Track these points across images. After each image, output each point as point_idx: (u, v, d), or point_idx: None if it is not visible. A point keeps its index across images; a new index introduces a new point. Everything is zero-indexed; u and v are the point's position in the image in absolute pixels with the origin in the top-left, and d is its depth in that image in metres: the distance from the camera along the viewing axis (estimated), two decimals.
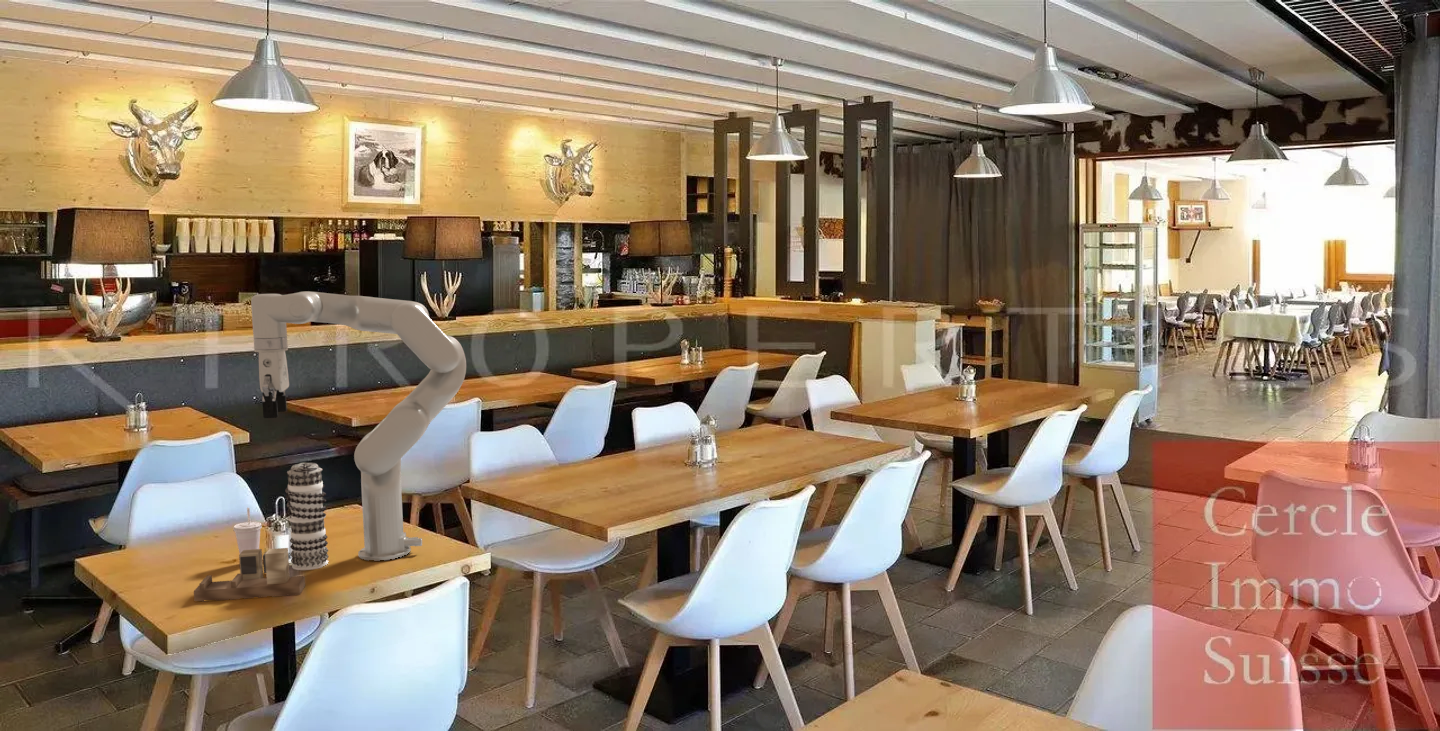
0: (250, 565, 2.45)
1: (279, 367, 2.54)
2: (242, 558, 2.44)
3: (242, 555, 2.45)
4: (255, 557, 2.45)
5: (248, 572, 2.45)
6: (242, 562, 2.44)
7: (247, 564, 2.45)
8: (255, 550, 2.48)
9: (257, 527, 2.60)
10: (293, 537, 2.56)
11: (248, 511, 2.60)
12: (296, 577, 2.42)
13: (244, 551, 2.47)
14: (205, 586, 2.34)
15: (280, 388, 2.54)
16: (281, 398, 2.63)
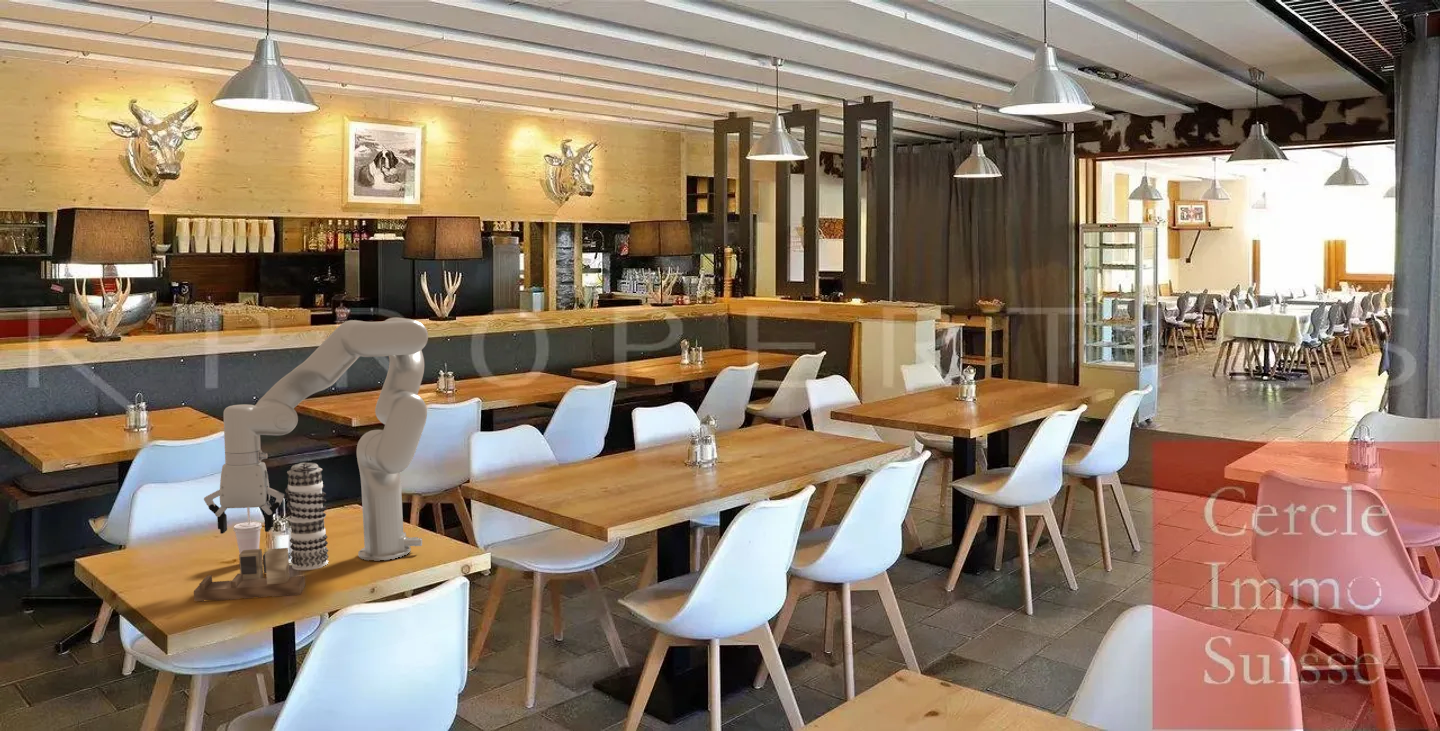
0: (250, 565, 2.45)
1: None
2: (242, 558, 2.44)
3: (242, 555, 2.45)
4: (255, 557, 2.45)
5: (248, 572, 2.45)
6: (242, 562, 2.44)
7: (247, 564, 2.45)
8: (255, 550, 2.48)
9: (257, 527, 2.60)
10: (293, 537, 2.56)
11: (248, 511, 2.60)
12: (296, 577, 2.42)
13: (244, 551, 2.47)
14: (205, 586, 2.34)
15: None
16: (225, 517, 2.46)
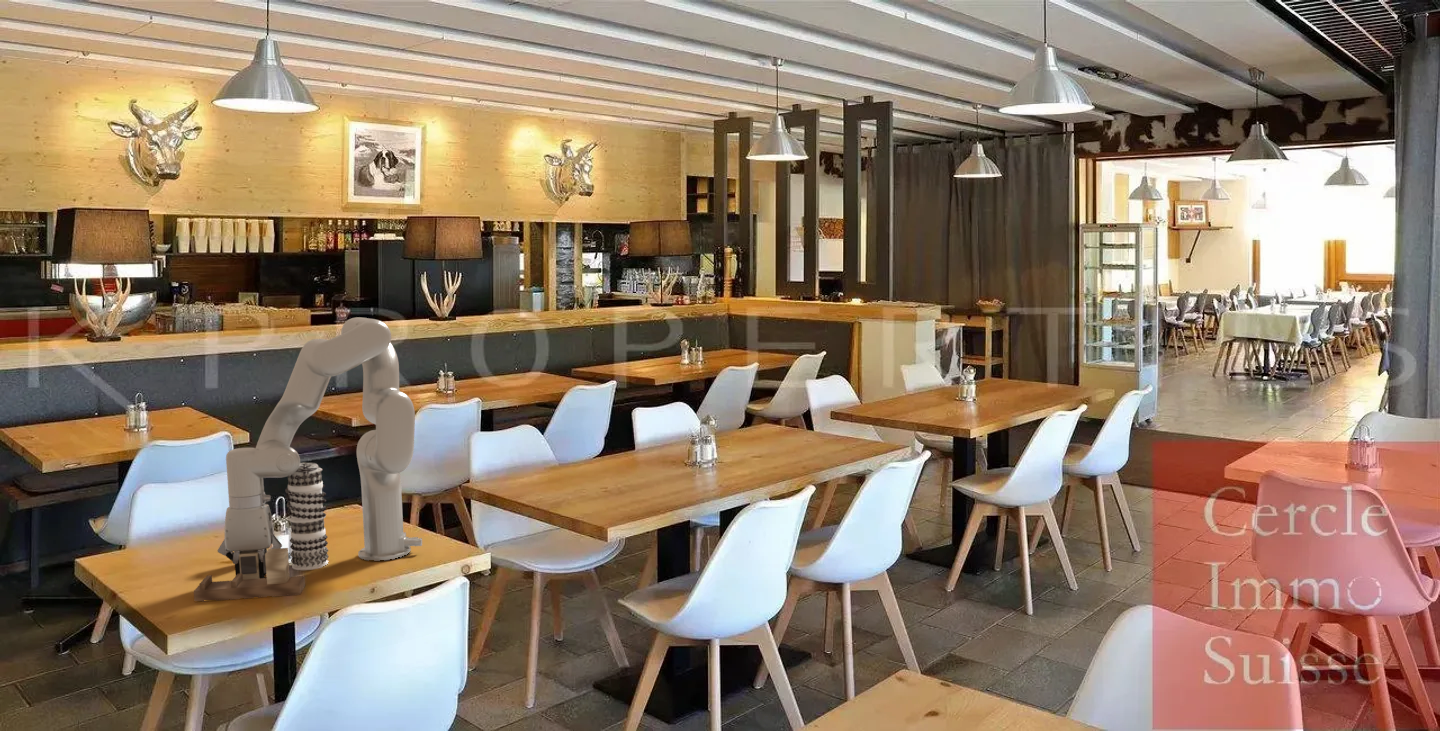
0: (250, 565, 2.45)
1: None
2: (242, 558, 2.44)
3: (242, 555, 2.45)
4: (255, 557, 2.45)
5: (248, 572, 2.45)
6: (242, 562, 2.44)
7: (247, 564, 2.45)
8: (255, 550, 2.48)
9: None
10: (293, 537, 2.56)
11: None
12: (296, 577, 2.42)
13: (244, 551, 2.47)
14: (205, 586, 2.34)
15: None
16: None
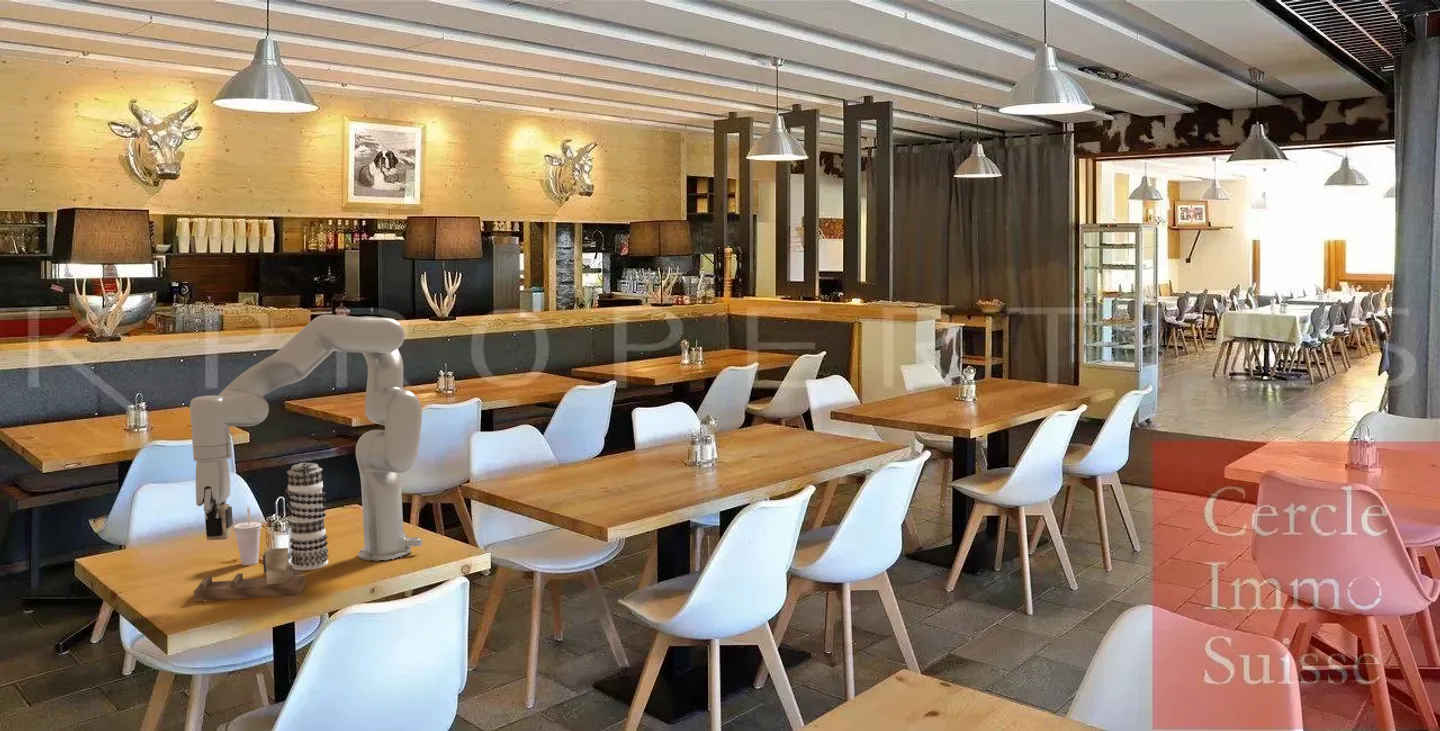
0: (230, 516, 2.36)
1: None
2: (228, 510, 2.34)
3: (225, 508, 2.34)
4: None
5: (230, 524, 2.36)
6: (228, 514, 2.34)
7: (230, 516, 2.36)
8: None
9: (257, 527, 2.60)
10: (293, 537, 2.56)
11: (248, 511, 2.60)
12: (296, 577, 2.42)
13: None
14: (205, 586, 2.34)
15: None
16: None
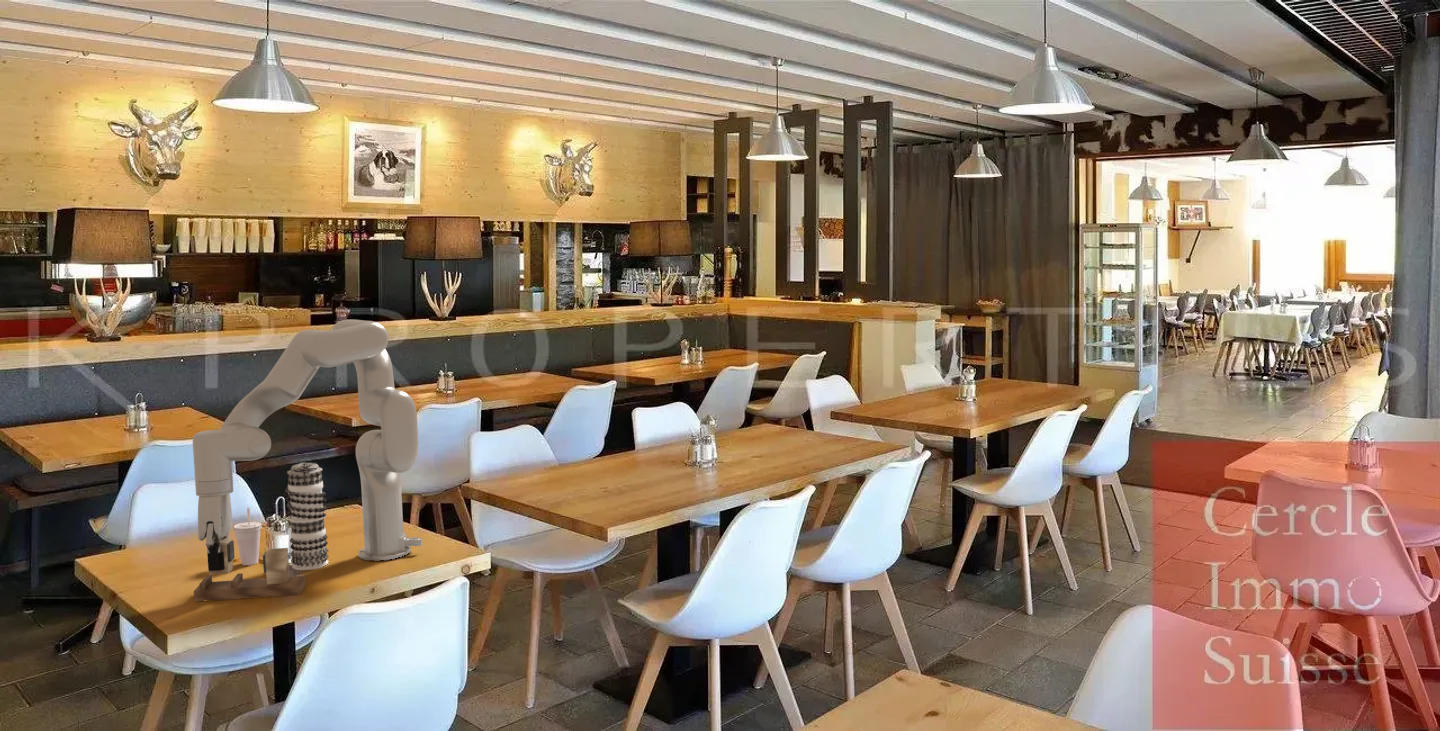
0: (232, 550, 2.37)
1: None
2: (230, 544, 2.35)
3: (226, 542, 2.35)
4: None
5: (232, 558, 2.37)
6: (230, 548, 2.35)
7: (231, 550, 2.36)
8: None
9: (257, 527, 2.60)
10: (293, 537, 2.56)
11: (248, 511, 2.60)
12: (296, 577, 2.42)
13: (214, 542, 2.34)
14: (205, 586, 2.34)
15: None
16: None
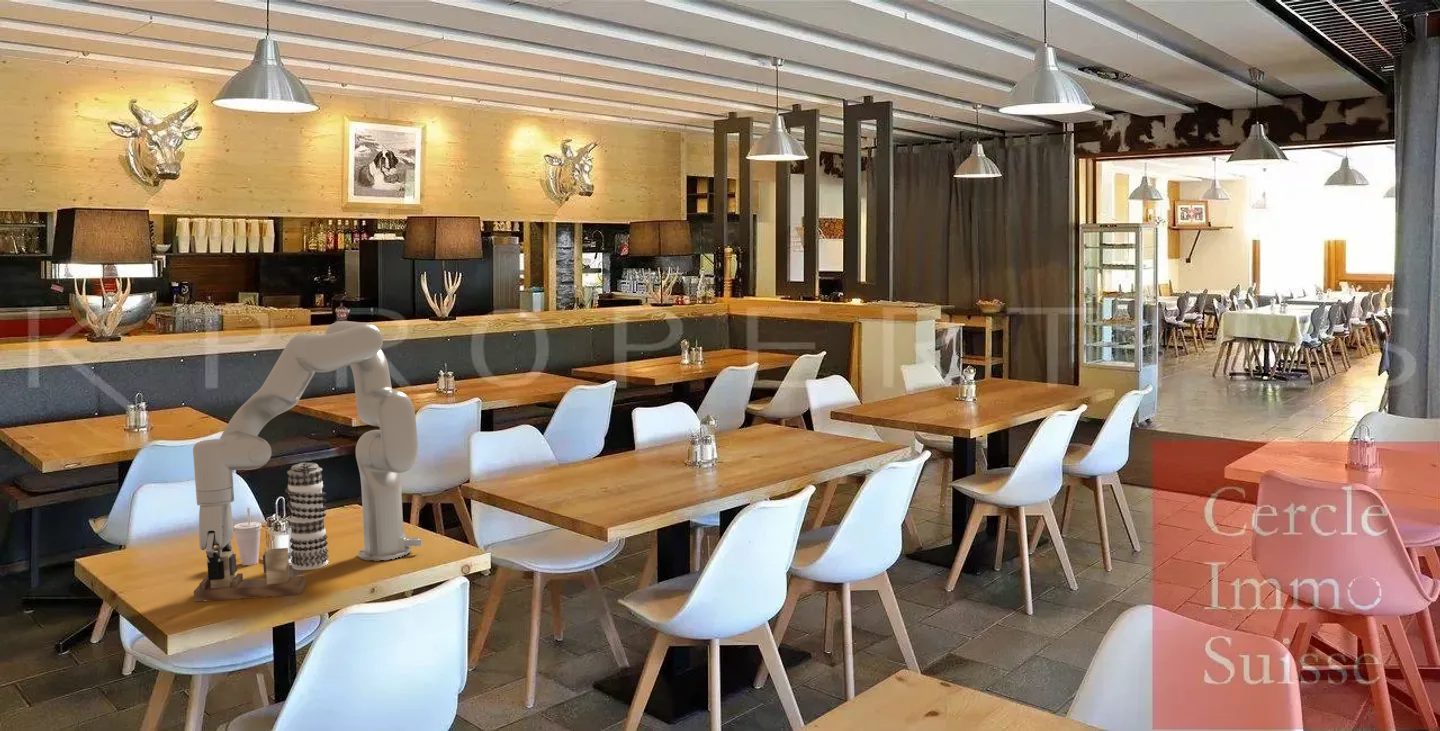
0: (234, 563, 2.38)
1: None
2: (232, 558, 2.36)
3: (228, 556, 2.36)
4: None
5: (234, 571, 2.37)
6: (232, 562, 2.36)
7: (233, 563, 2.37)
8: (217, 553, 2.37)
9: (257, 527, 2.60)
10: (293, 537, 2.56)
11: (248, 511, 2.60)
12: (296, 577, 2.42)
13: None
14: (205, 586, 2.34)
15: None
16: None
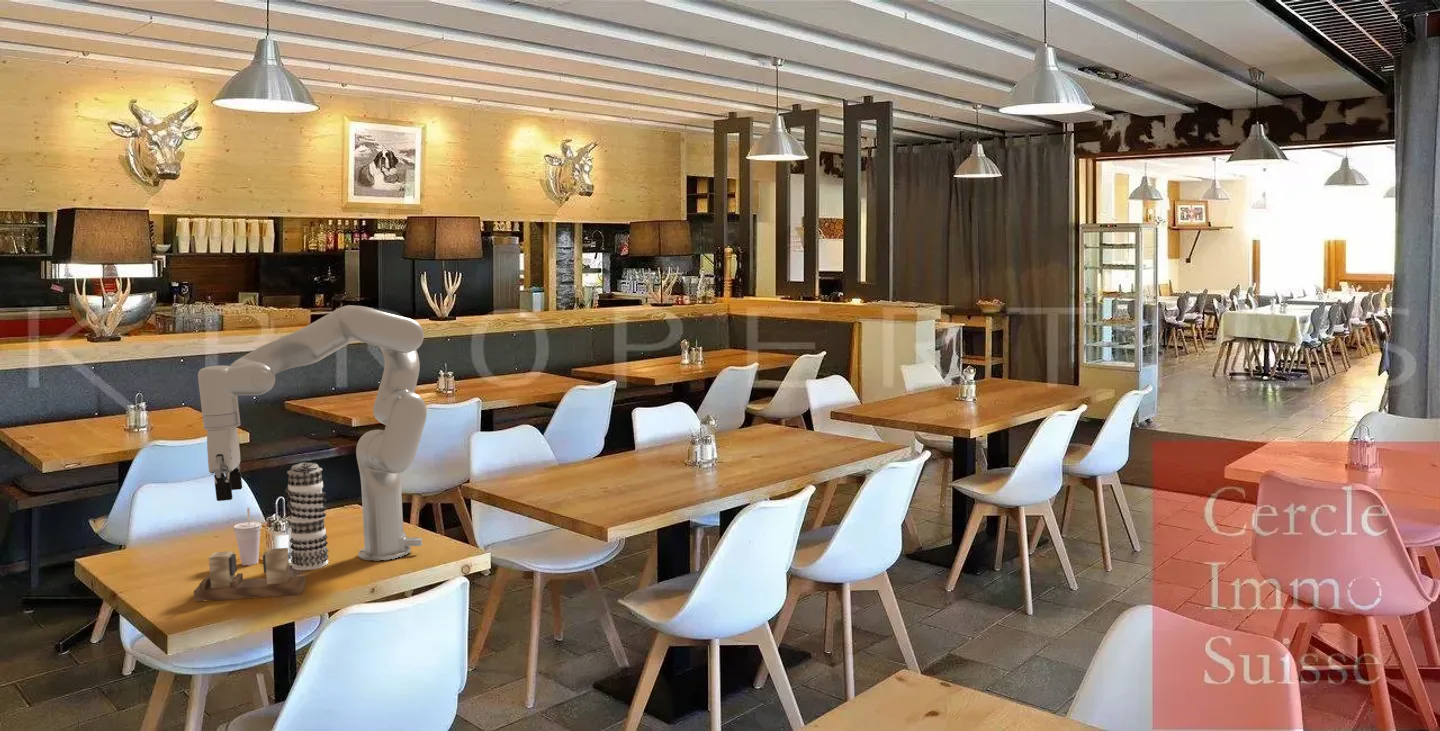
0: (234, 563, 2.38)
1: None
2: (232, 558, 2.36)
3: (228, 556, 2.36)
4: None
5: (234, 571, 2.37)
6: (232, 562, 2.36)
7: (233, 563, 2.37)
8: (217, 553, 2.37)
9: (257, 527, 2.60)
10: (293, 537, 2.56)
11: (248, 511, 2.60)
12: (296, 577, 2.42)
13: (216, 556, 2.35)
14: (205, 586, 2.34)
15: None
16: None
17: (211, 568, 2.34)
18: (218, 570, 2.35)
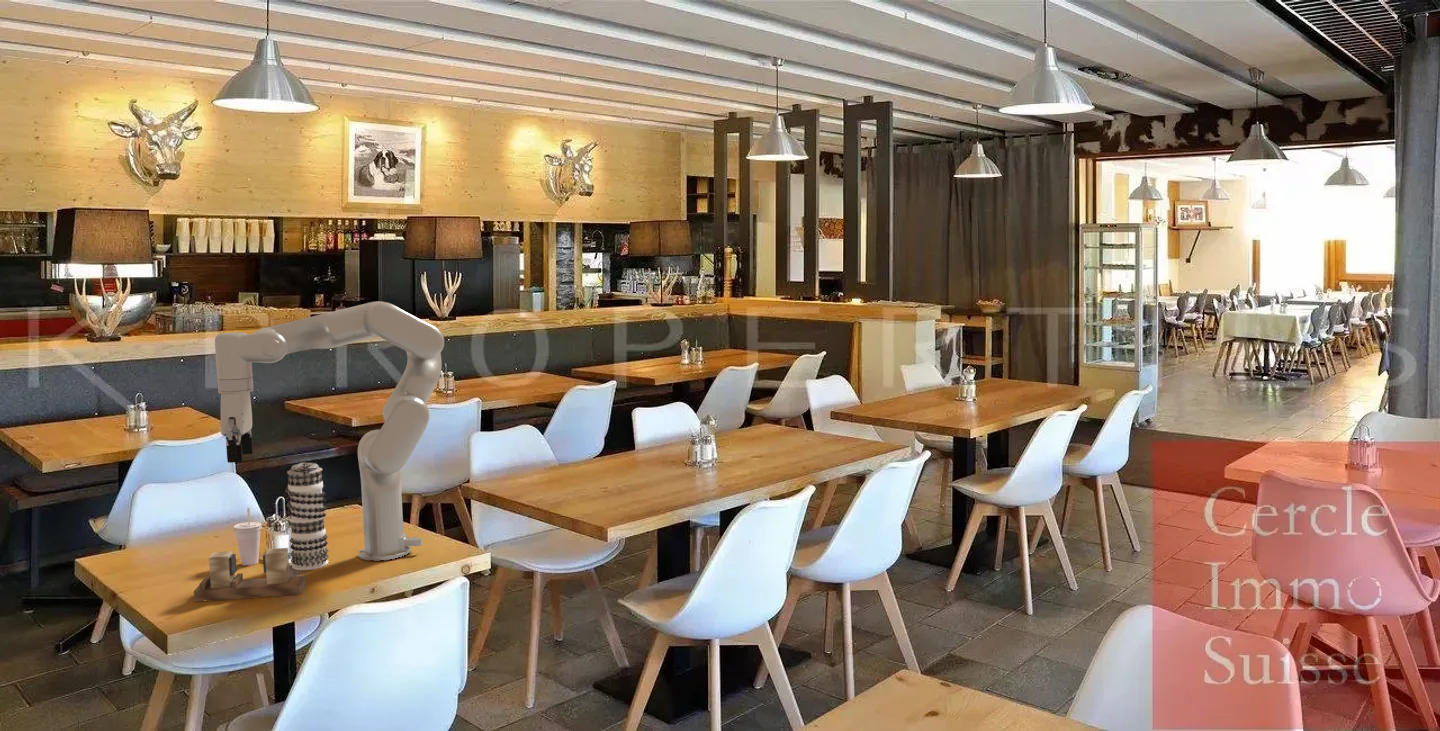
0: (234, 563, 2.38)
1: None
2: (232, 558, 2.36)
3: (228, 556, 2.36)
4: None
5: (234, 571, 2.37)
6: (232, 562, 2.36)
7: (233, 563, 2.37)
8: (217, 553, 2.37)
9: (257, 527, 2.60)
10: (293, 537, 2.56)
11: (248, 511, 2.60)
12: (296, 577, 2.42)
13: (216, 556, 2.35)
14: (205, 586, 2.34)
15: None
16: None
17: (211, 568, 2.34)
18: (218, 570, 2.35)
